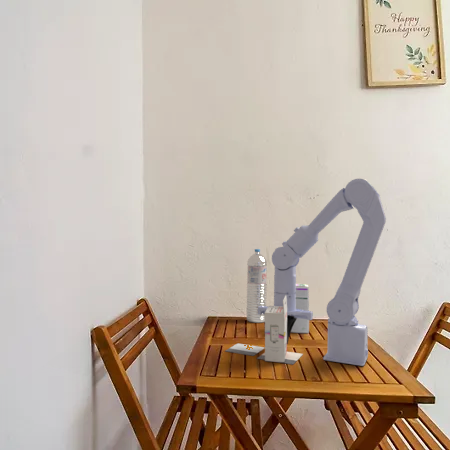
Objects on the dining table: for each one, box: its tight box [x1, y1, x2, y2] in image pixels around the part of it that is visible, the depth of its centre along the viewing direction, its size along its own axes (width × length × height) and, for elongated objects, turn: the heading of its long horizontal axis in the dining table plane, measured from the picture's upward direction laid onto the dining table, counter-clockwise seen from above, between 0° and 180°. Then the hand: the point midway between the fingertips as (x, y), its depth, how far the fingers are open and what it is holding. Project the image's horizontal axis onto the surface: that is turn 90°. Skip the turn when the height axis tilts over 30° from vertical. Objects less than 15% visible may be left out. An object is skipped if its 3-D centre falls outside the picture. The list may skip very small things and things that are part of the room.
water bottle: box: [246, 248, 268, 324], centre depth 138 cm, size 7×7×25 cm
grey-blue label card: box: [224, 342, 265, 357], centre depth 104 cm, size 8×8×1 cm
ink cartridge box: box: [264, 295, 288, 363], centre depth 98 cm, size 9×5×15 cm, turn 167°
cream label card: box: [256, 351, 304, 366], centre depth 98 cm, size 9×9×1 cm
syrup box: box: [291, 283, 310, 334], centre depth 125 cm, size 6×6×14 cm
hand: (284, 344), depth 104 cm, fingers closed
